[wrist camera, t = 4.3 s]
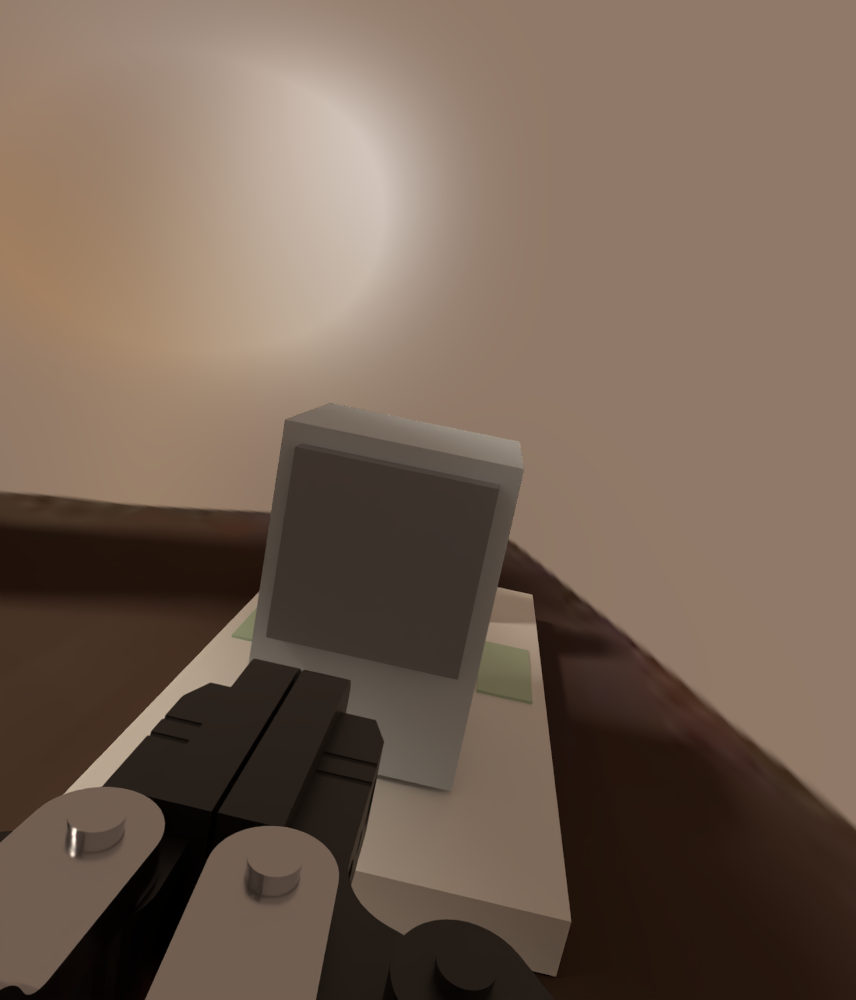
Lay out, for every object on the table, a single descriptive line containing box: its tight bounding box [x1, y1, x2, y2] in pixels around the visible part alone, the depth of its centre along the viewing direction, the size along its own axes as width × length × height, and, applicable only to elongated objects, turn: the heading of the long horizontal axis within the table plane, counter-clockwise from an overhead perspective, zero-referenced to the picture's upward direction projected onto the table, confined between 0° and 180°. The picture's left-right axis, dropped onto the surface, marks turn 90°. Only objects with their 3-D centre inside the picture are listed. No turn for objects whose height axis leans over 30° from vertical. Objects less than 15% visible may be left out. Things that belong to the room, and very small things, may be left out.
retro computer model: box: [249, 403, 524, 791], centre depth 22 cm, size 6×6×9 cm
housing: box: [63, 587, 571, 977], centre depth 28 cm, size 22×12×2 cm, turn 174°
